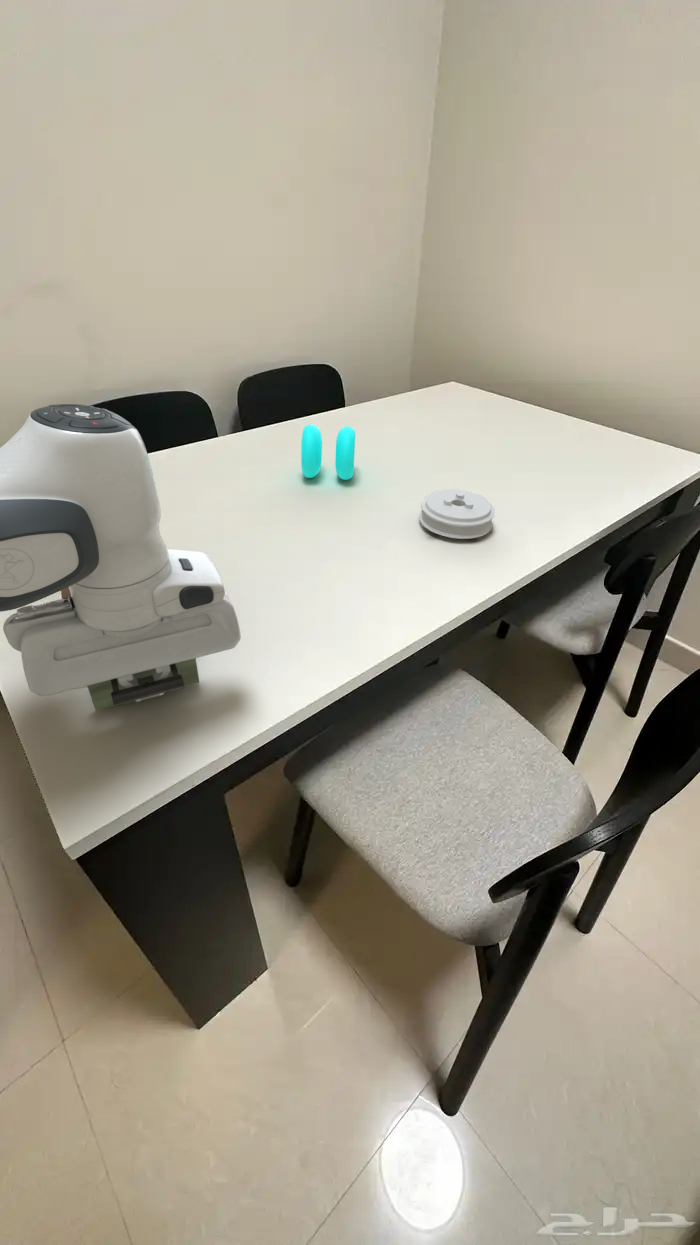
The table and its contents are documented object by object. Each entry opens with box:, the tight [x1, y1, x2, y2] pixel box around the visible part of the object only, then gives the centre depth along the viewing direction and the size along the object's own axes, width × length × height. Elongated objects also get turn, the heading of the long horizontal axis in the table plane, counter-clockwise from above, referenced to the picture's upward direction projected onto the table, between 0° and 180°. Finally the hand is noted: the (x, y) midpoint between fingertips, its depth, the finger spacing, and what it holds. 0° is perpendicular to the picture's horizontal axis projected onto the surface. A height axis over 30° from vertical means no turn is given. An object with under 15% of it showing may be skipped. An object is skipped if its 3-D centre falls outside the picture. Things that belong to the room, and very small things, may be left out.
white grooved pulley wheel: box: [419, 488, 496, 540], centre depth 100 cm, size 13×13×5 cm
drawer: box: [87, 658, 200, 711], centre depth 66 cm, size 18×11×8 cm, turn 25°
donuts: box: [300, 423, 356, 481], centre depth 112 cm, size 10×10×10 cm
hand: (149, 694), depth 62 cm, fingers closed
